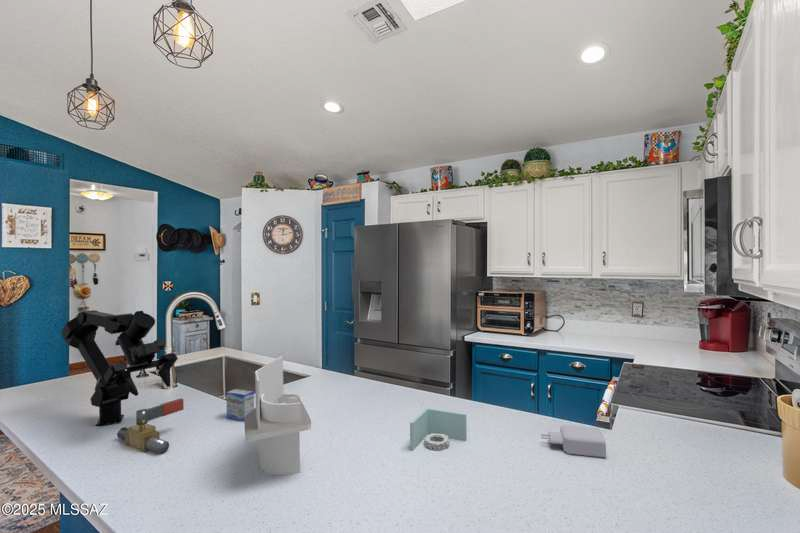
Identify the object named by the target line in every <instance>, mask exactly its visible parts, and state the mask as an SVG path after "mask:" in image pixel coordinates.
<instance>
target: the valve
mask: <svg viewBox="0 0 800 533" xmlns="http://www.w3.org/2000/svg"><path fill="white" fill-rule="evenodd" d="M116 436H117V438H118V439H120V440H121V441H125V446H126V447H129V448H132V449H135V450H136V451H139V452H143V453H147V452H149V451H152V452H153V453H157V454H159V455H163V454H165V453H166V452H168V450H169V449H170V442H169V441H168V440H165V439H162V438H160V431H158V430H157V427H156V425H153V424H149V423H146V424H144V425H136V424H135V425H132V426H130V427H128V426H123V427H121V428H120V429H119V430H118V431H117V433H116Z"/></svg>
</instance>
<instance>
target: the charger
mask: <svg viewBox="0 0 800 533" xmlns="http://www.w3.org/2000/svg"><path fill="white" fill-rule="evenodd" d="M559 429H560V432H559V431H550V430H549V431H548V434H547V433H546V434H545V433H541V434H540V436H541V439H545V440H548V441H549V444H554V445H561V447H562V450H563V451H564V453H566V454H568V455H576V456H585V457H594V458H595V457H597V458H607V446H606V445H607V444H606V439H605V437H604V434H603V432H602V431H601V429H600V427H594V426H582V425H570V424H562V425H561V426H560V428H559Z"/></svg>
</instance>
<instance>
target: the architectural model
mask: <svg viewBox="0 0 800 533" xmlns="http://www.w3.org/2000/svg"><path fill="white" fill-rule="evenodd" d="M254 371H255V372H254V378H255V379H254V380H255V381H254V382H255V384H254V385H255V391H254V393H255V407H254V409H253V410H252V411H251V412H250V413H248V414H247V415H246V416H245V417H244V421H243V423H244V424H243V425H244V434H245V435H244V438H245V440H246V441H249V442H250V441H257V440H258V442H259V444H258V448H259V453H258V454H259V458H258V459H259V467H260V469H261V470H262V471H263V470H264V471H263V472H266V473H267V474H272V475H278V476H286V475H287V476H288V475H289V476H290V475H295V474H301V457H300V456H301V453H300V452H301V451H300V447H301V446H300V445H301V444H300V432H303V431H309V430H310V429H312V420H311V417H310V415H309V414H308V411H307V410H306V408H305V406H304V403H303V402H302V400H301V398H300V396H299V395H297V394H294V393H293V394H291V393H289V394H288V393H287V394H285V393H284V356H283V355H279V357H277V358H275V359H273V360H272V361H270V362H267V364H265V365H264V366H262V367H260V368H259V369H257V370H254Z"/></svg>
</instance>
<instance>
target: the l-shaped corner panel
mask: <svg viewBox="0 0 800 533" xmlns="http://www.w3.org/2000/svg"><path fill="white" fill-rule="evenodd" d="M467 427H468V426H467V413H465V412H458V411H453V410H452V411H451V410H447V409H446V410H445V409H439V408H431V407H425V408H424V409H423V410H422V411H421V412H420V413H418V414H417V416H415V417H414V418H413V419H412V420H411V421H409V448H410V449H409V450H410V451H414V450H416V448H417V447H418V446H419V445H420V444H421V443H422V442H423V440H424V442H423V444H424V446H425V447H426V448H427V449H428V450H429V451H432V450H433V451H434V452H436V451H446V449H448V448H449V447H450V442H451V440H450V439H452V440H458V441H463V442H466V441H467V438H468V436H467V435H468V434H467Z"/></svg>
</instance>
